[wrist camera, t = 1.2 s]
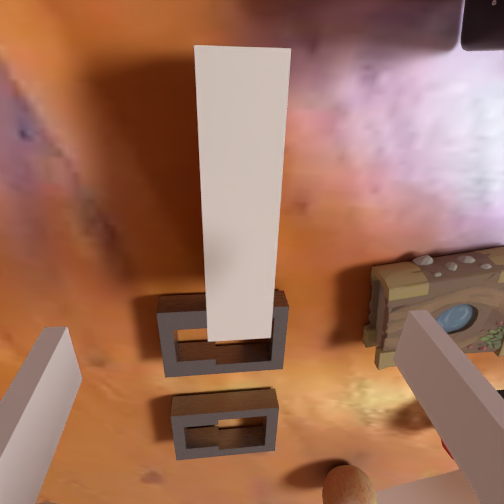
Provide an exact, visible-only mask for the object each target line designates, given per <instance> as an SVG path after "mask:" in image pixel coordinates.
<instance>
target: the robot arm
mask: <svg viewBox="0 0 504 504" xmlns="http://www.w3.org/2000/svg"><path fill="white" fill-rule="evenodd" d="M393 361H394V362H395V364H396V366H397V367H398V369H399V370H400V372H401V374H402V375H403V377H404V379H405V380H406V382H407V384H408V385H409V387H410V388H411V390H412V392H413V393H414V395H415V397H416V398H417V400H418V402H419V403H420V405H421V406H422V408H423V410H424V411H425V413H426V415H427V416H428V418H429V419H430V421H431V423H432V424H433V426H434V428H435V429H436V431H437V433H438V434H439V436H440V437H441V439H442V441H443V442H444V444H445V446H446V447H447V449H448V451H449V452H450V454H451V455H452V457H453V459H454V460H455V462H456V464H457V465H458V467H459V468H460V470H461V472H462V473H463V475H464V476H465V478H466V480H467V482H468V483H469V485H470V486H471V488H472V490H473V491H474V493H475V495H476V496H477V498H478V500H479V501H480V503H481V504H504V390H495V388H494V387H493V386H492V385H491V384H490V383H489V382H488V380H487V379H486V378H485V377H484V376H483V375H482V373H481V372H480V371H479V370H478V369H477V368H476V366H475V365H474V364H473V363H472V362H471V361H470V360H469V358H468V357H467V356H466V355H465V354H464V353H463V351H462V350H461V349H460V348H459V347H458V346H457V344H456V343H455V342H454V341H453V340H452V339H451V337H450V336H449V335H448V334H447V333H446V332H445V331H444V329H443V328H442V327H441V326H440V325H439V324H438V322H437V321H436V320H435V319H434V318H433V317H432V315H431V314H430V313H429V312H428V311H427V310H417V311H409V313H408V316H407V319H406V322H405V325H404V328H403V331H402V334H401V337H400V340H399V343H398V345H397V348H396V351H395V354H394V357H393ZM81 381H82V376H81V373H80V369H79V366H78V362H77V359H76V356H75V352H74V349H73V345H72V342H71V338H70V335H69V332H68V328H67V326H64V327H44V329H43V330H42V332H41V334H40V335H39V337H38V339H37V341H36V342H35V344H34V346H33V347H32V349H31V351H30V352H29V354H28V356H27V358H26V359H25V361H24V363H23V364H22V366H21V368H20V370H19V371H18V373H17V375H16V376H15V378H14V380H13V381H12V383H11V385H10V387H9V388H8V390H7V392H6V393H5V395H4V397H3V398H2V400H1V402H0V504H35V503H36V501H37V498H38V495H39V493H40V490H41V487H42V485H43V482H44V479H45V477H46V474H47V472H48V469H49V466H50V464H51V461H52V458H53V456H54V453H55V450H56V448H57V445H58V442H59V440H60V437H61V434H62V432H63V429H64V426H65V424H66V421H67V418H68V416H69V413H70V411H71V408H72V405H73V403H74V400H75V397H76V395H77V392H78V389H79V387H80V384H81Z"/></svg>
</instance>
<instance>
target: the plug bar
mask: <svg viewBox="0 0 504 504" xmlns="http://www.w3.org/2000/svg"><path fill="white" fill-rule="evenodd" d="M194 53H195V75H196V96H197V117H198V139H199V160H200V182H201V203H202V224H203V246H204V267H205V289H206V310H207V331H208V342H211V341H227V340H244V339H260V338H271V328H272V314H273V300H274V286H275V272H276V258H277V243H278V229H279V215H280V201H281V187H282V173H283V158H284V144H285V130H286V116H287V102H288V88H289V74H290V59H291V48H263V47H235V46H206V45H194Z"/></svg>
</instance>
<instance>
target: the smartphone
mask: <svg viewBox="0 0 504 504" xmlns="http://www.w3.org/2000/svg"><path fill="white" fill-rule="evenodd" d="M461 46H462V48H463V49H464V50H466V51H495V50H504V0H465V6H464V14H463V23H462V31H461Z"/></svg>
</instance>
